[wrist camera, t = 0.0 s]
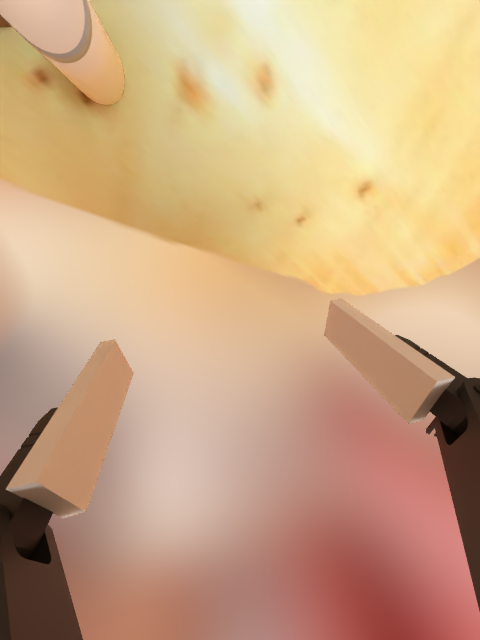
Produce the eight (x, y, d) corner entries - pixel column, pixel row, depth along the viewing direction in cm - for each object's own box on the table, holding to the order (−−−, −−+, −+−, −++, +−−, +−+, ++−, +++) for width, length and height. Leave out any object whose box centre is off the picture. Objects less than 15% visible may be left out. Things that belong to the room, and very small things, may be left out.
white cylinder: (52, 25, 21) (-76, -128, 11) (112, 25, 22) (42, -119, 12) (81, 106, 24) (4, 44, 14) (133, 104, 25) (92, 43, 15)
